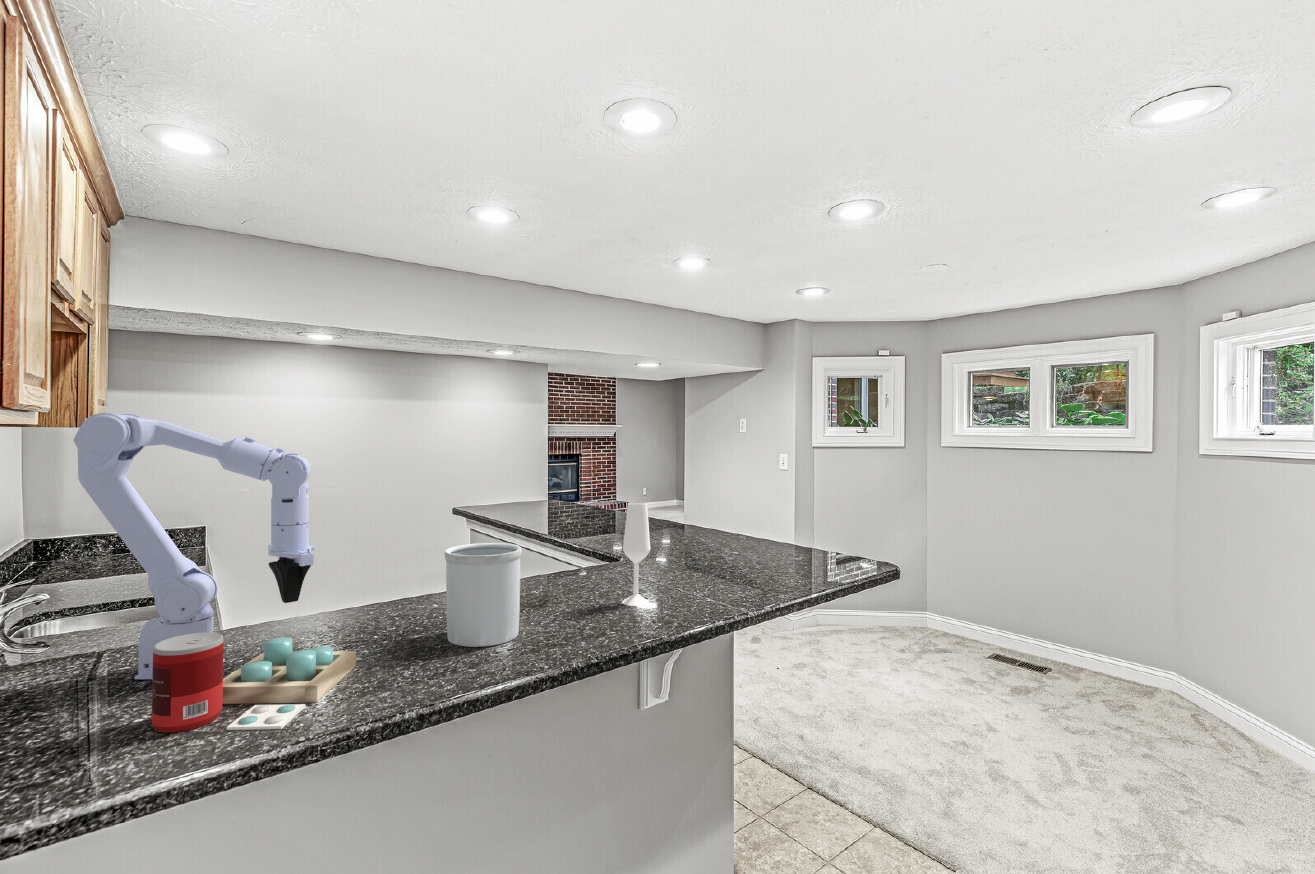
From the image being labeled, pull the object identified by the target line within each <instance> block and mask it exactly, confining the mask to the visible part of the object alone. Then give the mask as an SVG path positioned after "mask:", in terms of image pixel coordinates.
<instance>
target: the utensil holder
mask: <svg viewBox="0 0 1315 874" xmlns="http://www.w3.org/2000/svg"><path fill="white" fill-rule="evenodd" d="M522 551H523V550H522V546H520V545H518V544H515V543H514V544H513V543H507V542H506V543H505V542H477V543H467V544H462V545H456V546H452V547H449V548H447V549H445V551H444V558H445V560H446V561H445V563H446V564H445V568H446V569H445V571H446V573H445V580H446V581H445V585H446V586H445V589H446V590H445V592H446V597H445V600H446V601H445V602H446V603H445V605H446V606H445V607H446V632H447V633H446V635H447V640H448V642H449V643H451V644H452V645H456V646H461V647H469V648H479V647H481V648H483V647H490V646H497V645H500V644H501V645H502V644H505V643H508V642H510V641H512V640H515V638H517V637H518V635H519V631H520V629H519V627H520V626H519V625H520V607H521V606H520V605H521V604H520V603H521V600H520V599H521V598H520V597H521V556H522V554H523V553H522Z"/></svg>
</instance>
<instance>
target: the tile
mask: <svg viewBox="0 0 1315 874" xmlns="http://www.w3.org/2000/svg"><path fill="white" fill-rule="evenodd" d="M305 708H306V703H300V704H299V703H293V704H292V703H281V704H254V705H253V706H251V707H250V708H249V709H248V710H247V711H245V712H244V713H243V714H242V715H240V716H239V717H238V718H236V719H235V720H234V721H233V722H231V723H230V724H229V725H227V726H226V731H250V730H253V731H254V730H259V731H260V730H282V729H284V727H286V725H288V724H289V723H290V722H291V721H292V720H293V719H294V718H296V717H297V715H298V714H299V713H300V712H301V711H303V709H305Z"/></svg>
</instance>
